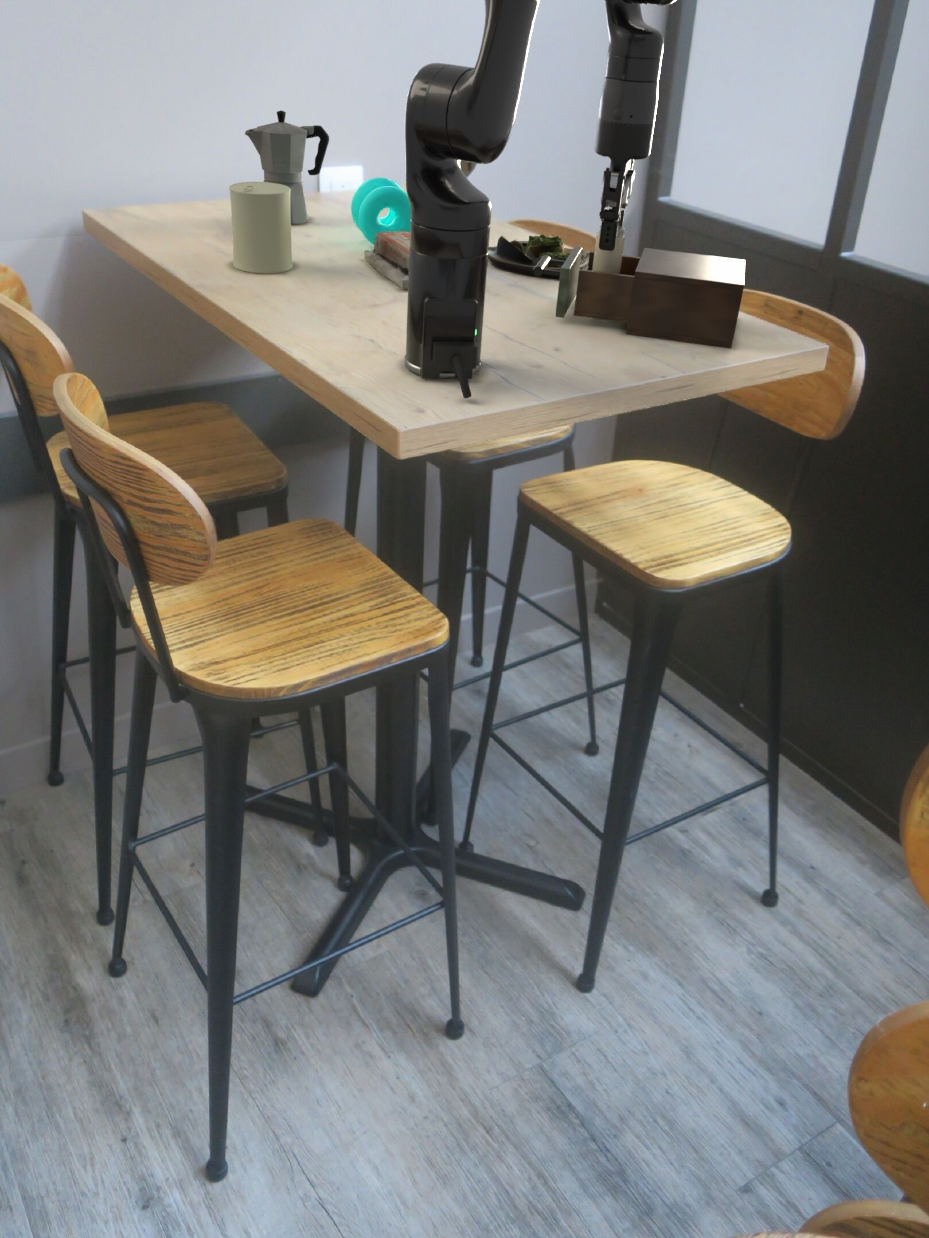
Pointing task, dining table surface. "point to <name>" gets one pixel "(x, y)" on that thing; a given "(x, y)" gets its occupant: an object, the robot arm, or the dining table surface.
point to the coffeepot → (288, 158)
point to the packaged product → (391, 256)
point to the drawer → (592, 287)
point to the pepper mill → (609, 254)
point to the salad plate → (531, 254)
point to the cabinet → (686, 297)
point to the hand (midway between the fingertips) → (610, 243)
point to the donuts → (380, 208)
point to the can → (261, 227)
